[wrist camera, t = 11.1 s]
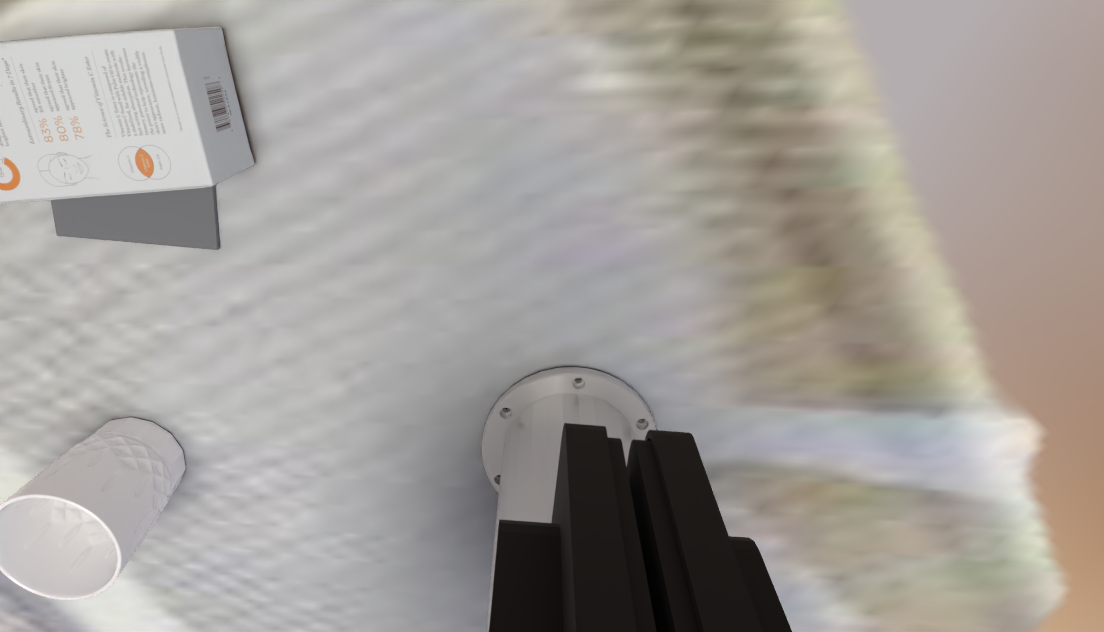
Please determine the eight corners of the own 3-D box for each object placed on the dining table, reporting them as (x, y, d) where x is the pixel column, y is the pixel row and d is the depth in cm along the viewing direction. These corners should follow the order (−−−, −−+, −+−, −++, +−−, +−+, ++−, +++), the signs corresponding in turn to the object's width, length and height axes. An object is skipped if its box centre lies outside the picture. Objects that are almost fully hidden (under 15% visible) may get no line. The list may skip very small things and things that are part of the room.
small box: (225, 25, 41) (-2, 42, 41) (174, 26, 35) (-90, 46, 36) (257, 167, 44) (46, 182, 45) (214, 190, 39) (-28, 207, 39)
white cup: (142, 518, 55) (60, 620, 45) (59, 445, 52) (-45, 537, 43) (217, 466, 53) (148, 561, 44) (135, 389, 50) (44, 472, 41)
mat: (220, 248, 47) (217, 249, 46) (60, 233, 46) (56, 235, 46) (206, 68, 42) (202, 69, 42) (30, 51, 42) (26, 51, 42)
